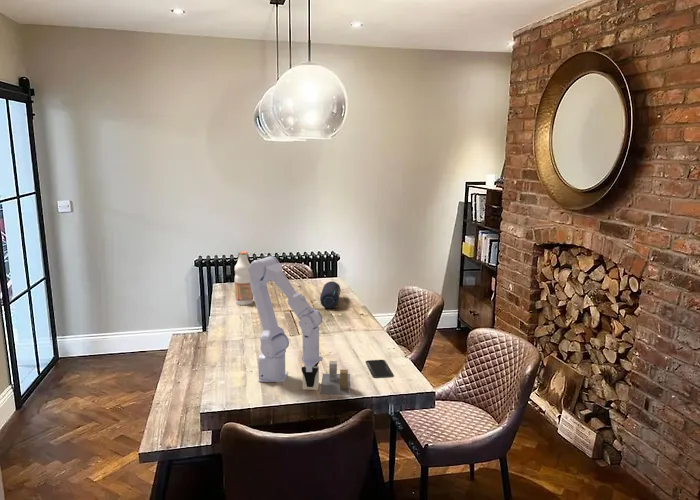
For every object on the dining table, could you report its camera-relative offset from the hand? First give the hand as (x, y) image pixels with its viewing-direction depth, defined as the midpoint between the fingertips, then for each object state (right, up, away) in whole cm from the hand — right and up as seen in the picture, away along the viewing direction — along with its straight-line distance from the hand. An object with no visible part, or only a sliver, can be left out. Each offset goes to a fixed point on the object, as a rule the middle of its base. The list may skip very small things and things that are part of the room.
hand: (310, 382), depth 175 cm
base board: (+9, -1, +2) cm, 9 cm away
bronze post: (+11, -2, -1) cm, 12 cm away
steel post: (+8, 0, +6) cm, 9 cm away
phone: (+25, 0, +15) cm, 29 cm away
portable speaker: (+3, +17, +98) cm, 99 cm away
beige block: (0, -2, 0) cm, 2 cm away
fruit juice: (-43, +17, +96) cm, 107 cm away
